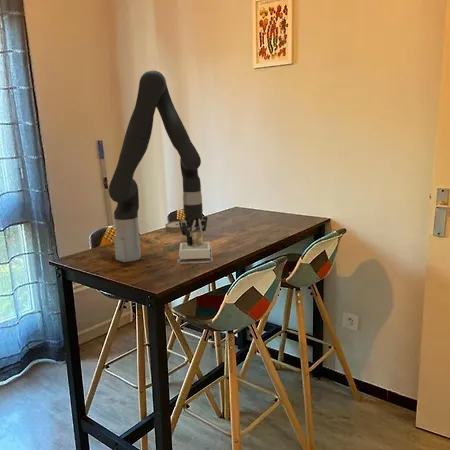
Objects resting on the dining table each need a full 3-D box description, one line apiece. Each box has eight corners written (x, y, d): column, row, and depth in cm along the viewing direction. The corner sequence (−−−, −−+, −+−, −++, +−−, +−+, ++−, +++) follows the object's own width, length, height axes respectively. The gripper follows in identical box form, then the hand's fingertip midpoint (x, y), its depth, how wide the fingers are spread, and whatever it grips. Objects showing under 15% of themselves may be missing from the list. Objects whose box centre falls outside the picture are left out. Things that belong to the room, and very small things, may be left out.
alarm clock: (160, 226, 233) (177, 215, 245) (162, 235, 235) (179, 224, 247) (178, 228, 228) (195, 217, 239) (180, 237, 229) (196, 226, 241)
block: (194, 247, 187) (194, 232, 185) (187, 245, 190) (186, 231, 188) (202, 244, 190) (202, 230, 189) (195, 243, 193) (194, 229, 192)
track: (180, 246, 207) (180, 245, 207) (211, 244, 208) (211, 243, 208) (177, 263, 183) (177, 262, 183) (212, 262, 183) (212, 261, 183)
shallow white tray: (179, 251, 196) (179, 243, 196) (211, 250, 197) (210, 241, 196) (178, 260, 185) (177, 251, 184) (211, 258, 185) (211, 249, 184)
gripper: (185, 206, 178) (188, 249, 182) (212, 200, 188) (213, 241, 192) (172, 204, 183) (175, 246, 187) (198, 198, 193) (200, 238, 197)
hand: (194, 243), depth 190 cm, fingers closed on block, 4 cm apart
